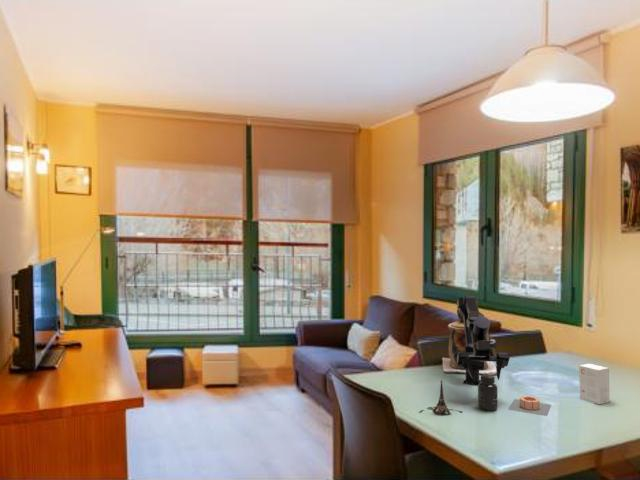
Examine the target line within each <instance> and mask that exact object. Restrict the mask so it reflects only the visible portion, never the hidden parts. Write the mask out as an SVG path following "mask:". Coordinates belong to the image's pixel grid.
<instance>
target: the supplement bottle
mask: <svg viewBox="0 0 640 480" xmlns="http://www.w3.org/2000/svg"><path fill="white" fill-rule="evenodd" d="M480 380H481V383H479V385H477V407H478V409H479V410H480V411H483V412H489V413H491V412H492V413H493V412H497V411H498V408H499V407H498V406H499V405H498V401H499V400H498V394H499V393H498V392H499V391H498V388H499V387H498V386H497V383H496V379H495V376H493V375H489V374H480ZM495 383H496V384H495Z"/></svg>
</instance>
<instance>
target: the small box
mask: <svg viewBox="0 0 640 480" xmlns="http://www.w3.org/2000/svg"><path fill="white" fill-rule="evenodd" d="M578 366H579V399H582V400H585V401H588V402H590V403H594V404H597V405H603V404H607V403H610V399H611V398H610V368H609V367H607V366H606V367H605V366H601V365H597V364H593V363H585V364H581V365H580V364H579V365H578Z"/></svg>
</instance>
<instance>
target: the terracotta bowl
mask: <svg viewBox="0 0 640 480" xmlns="http://www.w3.org/2000/svg"><path fill="white" fill-rule="evenodd" d="M519 400H520V407H521V408H523V409H527V410H539V409H540V403H541V399H540V398H538V397H535V396H531V395H524V396H522V395H521V396H520V397H519Z"/></svg>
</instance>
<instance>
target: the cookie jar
mask: <svg viewBox="0 0 640 480" xmlns="http://www.w3.org/2000/svg"><path fill="white" fill-rule="evenodd" d="M456 313H457V317H458V319H456V321H453V322H451V323H449V324H447V328H448V330H449V340H448V341H449V342H448V356H449V357H442V370H443V372H444V373H462V374H463V373H464V374H466V369H463V368H462V367H461V365H458V364H457V355H458V353H459V352H464V351H465V349H466V338H465V329H464V320H463V317H462V316H461V315H460V313H459V308H457V309H456ZM486 336H487V341H490V335H489V333H488V334H487V335H486ZM479 375H491V376H493V375H497V371H496V366H495V362H486V361H485V362H484V369H483V370H480V369H479Z"/></svg>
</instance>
